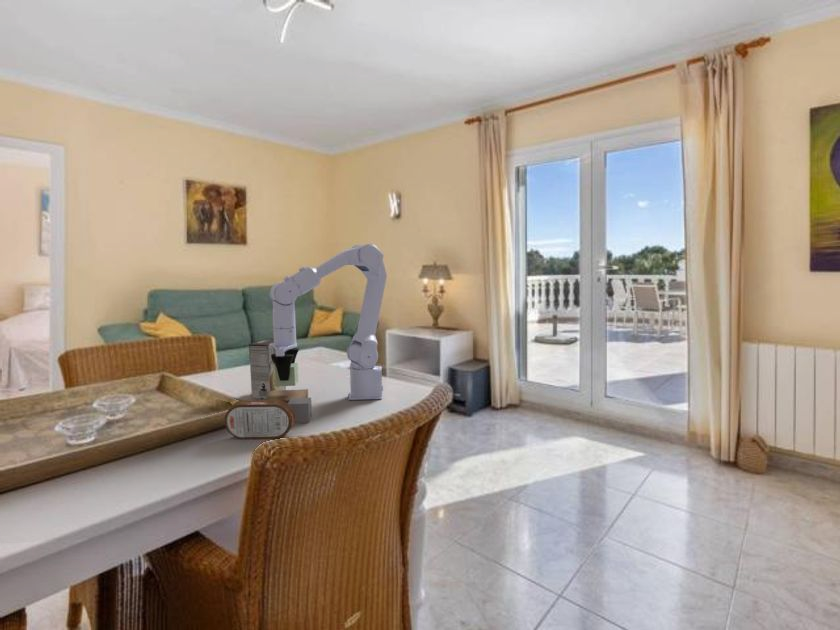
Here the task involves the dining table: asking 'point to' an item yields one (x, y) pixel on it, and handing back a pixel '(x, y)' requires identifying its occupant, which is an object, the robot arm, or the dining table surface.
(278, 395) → the walnut base
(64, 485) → the dining table surface
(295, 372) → the green cube
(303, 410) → the grey cube
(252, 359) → the coffee box
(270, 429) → the tin
